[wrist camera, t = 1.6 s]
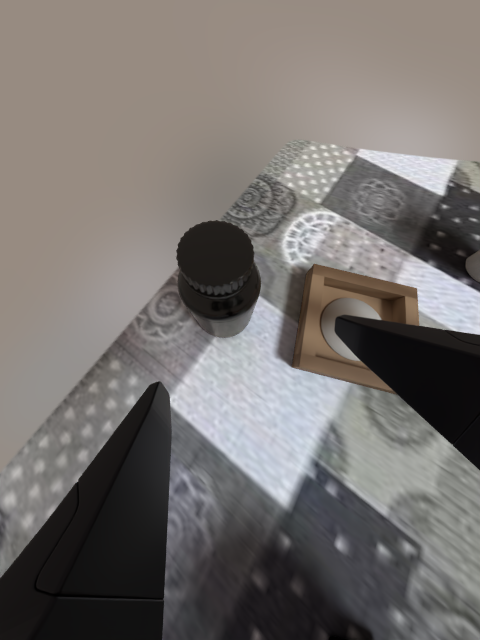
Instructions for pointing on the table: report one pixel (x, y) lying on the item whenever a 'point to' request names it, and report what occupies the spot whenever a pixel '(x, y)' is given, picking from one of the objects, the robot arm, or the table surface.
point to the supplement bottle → (218, 277)
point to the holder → (350, 299)
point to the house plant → (474, 266)
